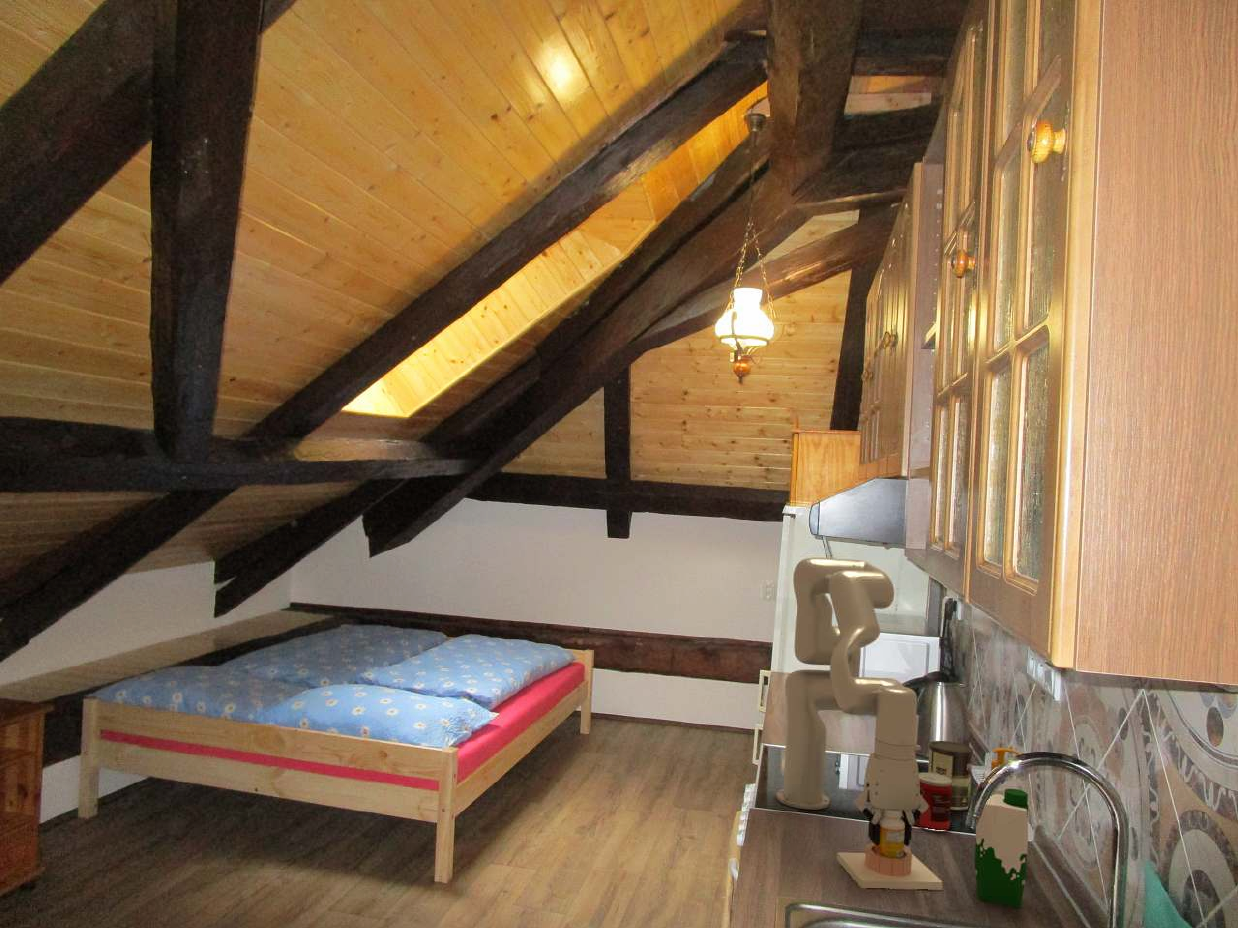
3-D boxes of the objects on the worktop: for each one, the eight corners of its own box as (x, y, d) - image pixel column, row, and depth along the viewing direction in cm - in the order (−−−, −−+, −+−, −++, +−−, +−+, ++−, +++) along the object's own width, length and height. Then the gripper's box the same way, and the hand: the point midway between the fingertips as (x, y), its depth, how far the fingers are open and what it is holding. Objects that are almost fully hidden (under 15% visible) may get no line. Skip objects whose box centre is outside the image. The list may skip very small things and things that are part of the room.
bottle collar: (858, 857, 178) (859, 841, 179) (899, 858, 179) (900, 843, 180) (875, 875, 170) (876, 859, 170) (918, 876, 171) (919, 860, 171)
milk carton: (1025, 911, 162) (1031, 801, 163) (972, 900, 165) (977, 791, 166) (1023, 893, 170) (1029, 787, 171) (973, 882, 173) (978, 779, 174)
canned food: (918, 817, 209) (921, 770, 210) (953, 826, 205) (956, 778, 205) (908, 825, 203) (911, 777, 203) (944, 835, 198) (947, 785, 199)
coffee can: (969, 800, 224) (971, 744, 225) (971, 813, 214) (974, 754, 215) (925, 793, 227) (928, 738, 228) (926, 805, 218) (929, 747, 218)
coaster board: (836, 859, 180) (837, 852, 180) (912, 861, 182) (912, 854, 182) (861, 888, 167) (861, 880, 167) (941, 889, 169) (942, 881, 169)
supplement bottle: (872, 850, 178) (875, 801, 178) (899, 853, 177) (902, 804, 177) (877, 861, 172) (880, 810, 173) (905, 864, 172) (908, 813, 172)
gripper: (926, 746, 180) (922, 836, 180) (845, 743, 178) (840, 834, 178) (944, 757, 173) (939, 851, 172) (859, 754, 171) (854, 849, 170)
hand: (889, 841), depth 175 cm, fingers closed on supplement bottle, 5 cm apart
